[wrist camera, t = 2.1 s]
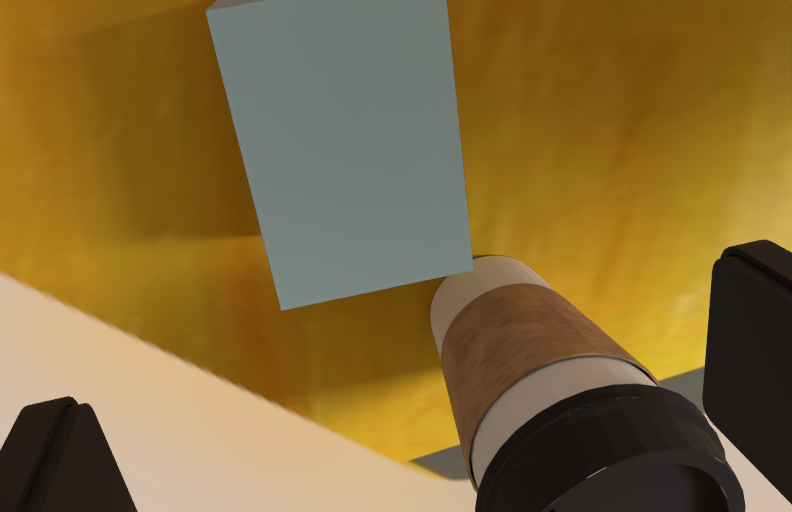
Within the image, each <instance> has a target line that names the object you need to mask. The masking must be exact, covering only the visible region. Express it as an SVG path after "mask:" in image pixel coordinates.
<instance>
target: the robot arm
mask: <svg viewBox="0 0 792 512" xmlns="http://www.w3.org/2000/svg"><path fill="white" fill-rule="evenodd" d="M702 399H703V406H704V410H705V412H706V414H707V416H708V418H709V419H710V421H711V422H712V423H713V424H714V425H715V426H716V427H717V428H718V429H719V430H720V431H721V432H722V433H723V434H724V435H725V437H726V438H728V440H729V441H730V442H731V443H732V444H733V445H734V446H735V447H736V448H737V449H738V450H739V451H740V452H741V453H742V454H743V455H744V456H745V457H746V458H747V459H748V460H749V461H750V462H751V463H752V464H753V465H754V466H755V467H756V468H757V469H758V470H759V471H760V472H761V473H762V474H763V475H764V476H765V478H767V479H768V481H769V482H770V483H771V484H772V485H773V486H774V487H775V488H776V489H777V490H778V491H779V492H780V493H781V494H782V495H783V496H784V497H785V498H786V499H787V500H788V501H789V502H790V503H791V504H792V253H791V252H789V251H788V250H786V249H784V248H782V247H780V246H779V245H777V244H775V243H773V242H771V241H768V240H758V241H754V242H749V243H745V244H741V245H736V246H732V247H728V248H727V249H725V250H724V251H723V253H722V255H721V258H720V259H718V260H717V261H715V263H714V265H713V270H712V281H711V294H710V307H709V320H708V333H707V345H706V358H705V371H704V384H703V396H702ZM0 512H137V509H136V507H135V505H134V502H133V500H132V498H131V495H130V493H129V491H128V488H127V486H126V484H125V482H124V479H123V477H122V475H121V472H120V470H119V468H118V466H117V463H116V461H115V459H114V456H113V454H112V452H111V449H110V447H109V445H108V442H107V440H106V438H105V435H104V433H103V431H102V429H101V426H100V424H99V422H98V420H97V417H96V415H95V413H94V411H93V409H92V407H91V406H90V405H89V404H87V403H84V404H80V405H78V403H77V401H76V400H74V398H73V397H69V396H67V397H63V398H59V399H54V400H50V401H45V402H41V403H36V404H32V405H28V406H25V407H24V408H23V409H22V410H21V412H20V413H19V415H18V417H17V419H16V421H15V423H14V425H13V427H12V429H11V431H10V433H9V435H8V437H7V438H6V440H5V442H4V444H3V446H2V448H1V450H0Z"/></svg>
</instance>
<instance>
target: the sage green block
mask: <svg viewBox="0 0 792 512" xmlns="http://www.w3.org/2000/svg"><path fill="white" fill-rule="evenodd" d="M205 13H206V17H207V20H208V24H209V28H210V32H211V36H212V40H213V44H214V48H215V52H216V56H217V60H218V64H219V68H220V72H221V76H222V79H223V83H224V87H225V91H226V95H227V99H228V103H229V107H230V111H231V115H232V119H233V123H234V127H235V131H236V135H237V138H238V142H239V146H240V150H241V154H242V158H243V162H244V166H245V170H246V174H247V178H248V182H249V186H250V190H251V194H252V198H253V201H254V205H255V209H256V213H257V217H258V221H259V225H260V229H261V233H262V237H263V241H264V245H265V249H266V253H267V257H268V260H269V264H270V268H271V272H272V276H273V280H274V284H275V288H276V292H277V296H278V300H279V304H280V308H281V311H283V310H288V309H293V308H297V307H302V306H307V305H312V304H316V303H321V302H326V301H331V300H335V299H340V298H345V297H350V296H354V295H359V294H364V293H369V292H373V291H378V290H383V289H388V288H392V287H397V286H402V285H406V284H411V283H416V282H421V281H425V280H430V279H435V278H440V277H444V276H449V275H454V274H459V273H463V272H468V271H473V270H474V267H473V257H472V247H471V237H470V227H469V217H468V207H467V197H466V188H465V178H464V168H463V158H462V148H461V138H460V128H459V118H458V108H457V98H456V88H455V79H454V69H453V59H452V49H451V39H450V29H449V19H448V9H447V0H216V1H215V2H214V3H213V4H212V5H211V6H210V7H209V8H208V9H206V10H205Z"/></svg>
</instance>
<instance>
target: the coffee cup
mask: <svg viewBox="0 0 792 512" xmlns="http://www.w3.org/2000/svg"><path fill="white" fill-rule="evenodd" d="M473 267H474V270H473V271H468V272H463V273H459V274H454V275H449V276H447V277H446V278H445V279H444V281H443V282H442V283H441V284H440V286H439V288H438V289H437V291H436V293H435V295H434V298H433V301H432V304H431V311H430V320H431V328H432V332H433V335H434V339H435V342H436V345H437V349H438V352H439V356H440V359H441V363H442V370H443V374H444V378H445V382H446V386H447V390H448V394H449V398H450V402H451V407H452V411H453V415H454V419H455V423H456V427H457V431H458V435H459V439H460V443H461V447H462V451H463V455H464V459H465V464H466V468H467V472H468V475H469V478H470V480H471V483H472V485H473V488H474V490H475V491H476V492H477V500H476V506H475V512H745V500H744V494H743V490H742V488H741V485H740V483H739V481H738V479H737V477H736V475H735V474H734V472H733V470H732V469H731V467H730V466H729V464H728V462H727V461H726V458H725V451H724V448H723V446H722V444H721V442H720V440H719V438H718V435H717V433H716V432H715V431H714V430H713V428H712V427H711V426H710V425H709V423H708V421H707V419H706V417H705V416H704V415H703V414H702V413H701V411H700V410H699V409H698V408H697V407H696V405H695V404H693V403H692V402H690V401H689V400H687V399H686V398H685V397H683V396H682V395H680V394H678V393H676V392H673V391H670V390H667V389H665V388H662V387H661V384H660V383H659V382H658V380H657V379H656V378H655V377H654V376H653V375H652V373H651V372H650V371H649V370H648V369H647V368H645V367H644V366H643V365H642V364H641V363H640V362H638V361H637V360H636V359H635V358H634V357H633V356H631V355H630V354H629V353H628V352H627V351H626V350H624V349H623V348H622V347H621V346H620V345H619V344H617V343H616V342H615V341H614V340H613V339H612V338H610V337H609V336H608V335H607V334H606V333H605V332H604V331H602V330H601V329H600V328H599V327H598V326H597V325H595V324H594V323H593V322H592V321H591V320H590V319H588V318H587V317H586V316H585V315H584V314H583V313H581V312H580V311H579V310H578V309H577V308H576V307H574V306H573V305H572V304H571V303H570V302H569V301H568V300H566V299H565V298H564V297H563V296H561V295H560V294H558V293H557V292H556V291H555V290H554V289H553V288H552V287H551V286H550V285H549V284H548V283H547V282H545V281H544V280H543V279H542V278H541V277H540V276H539V275H538V274H537V273H536V272H535V271H534V270H533V269H531V268H530V267H529V266H527V265H526V264H524V263H523V262H521V261H519V260H516V259H514V258H511V257H506V256H485V257H480V258H476V259H474V260H473Z"/></svg>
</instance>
